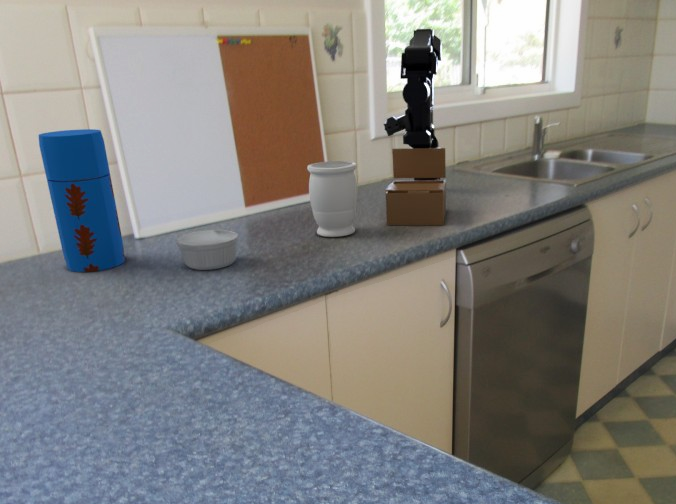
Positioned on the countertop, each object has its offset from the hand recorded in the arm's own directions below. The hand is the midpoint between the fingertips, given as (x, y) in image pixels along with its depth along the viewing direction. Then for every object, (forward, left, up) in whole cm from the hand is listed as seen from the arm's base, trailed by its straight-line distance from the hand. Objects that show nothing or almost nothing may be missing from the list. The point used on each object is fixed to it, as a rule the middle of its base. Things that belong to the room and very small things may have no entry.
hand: (420, 169), depth 163 cm
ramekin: (-23, -55, -10) cm, 60 cm away
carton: (+3, -9, -10) cm, 14 cm away
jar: (-10, -28, -10) cm, 31 cm away
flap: (+1, -3, +2) cm, 4 cm away
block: (+2, -6, -9) cm, 11 cm away
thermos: (-45, -62, -10) cm, 77 cm away
